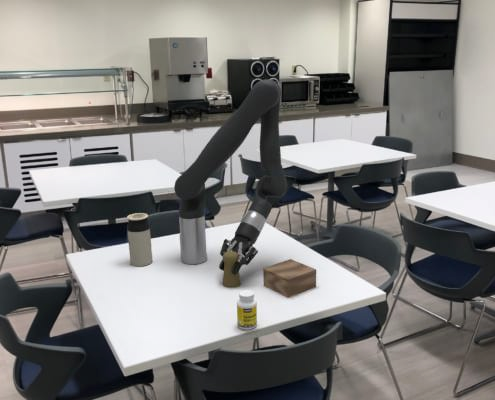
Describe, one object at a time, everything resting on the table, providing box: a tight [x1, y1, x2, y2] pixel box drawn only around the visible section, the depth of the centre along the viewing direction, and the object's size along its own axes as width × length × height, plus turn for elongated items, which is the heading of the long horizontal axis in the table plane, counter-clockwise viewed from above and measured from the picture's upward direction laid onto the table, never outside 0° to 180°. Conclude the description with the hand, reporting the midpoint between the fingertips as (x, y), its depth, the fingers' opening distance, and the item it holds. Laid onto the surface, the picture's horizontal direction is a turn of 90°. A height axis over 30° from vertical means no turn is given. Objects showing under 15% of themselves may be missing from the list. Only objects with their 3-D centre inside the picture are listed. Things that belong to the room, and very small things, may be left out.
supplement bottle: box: [236, 289, 258, 331], centre depth 140 cm, size 5×5×10 cm
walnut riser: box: [262, 258, 317, 299], centre depth 165 cm, size 12×12×6 cm
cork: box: [222, 250, 242, 289], centre depth 167 cm, size 6×6×11 cm
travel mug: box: [126, 212, 153, 267], centre depth 186 cm, size 8×8×18 cm
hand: (227, 271), depth 166 cm, fingers closed on cork, 5 cm apart
